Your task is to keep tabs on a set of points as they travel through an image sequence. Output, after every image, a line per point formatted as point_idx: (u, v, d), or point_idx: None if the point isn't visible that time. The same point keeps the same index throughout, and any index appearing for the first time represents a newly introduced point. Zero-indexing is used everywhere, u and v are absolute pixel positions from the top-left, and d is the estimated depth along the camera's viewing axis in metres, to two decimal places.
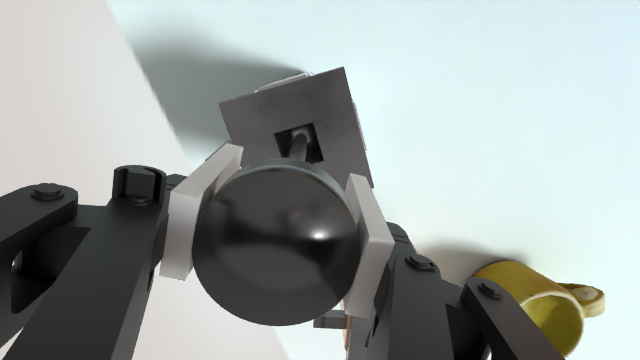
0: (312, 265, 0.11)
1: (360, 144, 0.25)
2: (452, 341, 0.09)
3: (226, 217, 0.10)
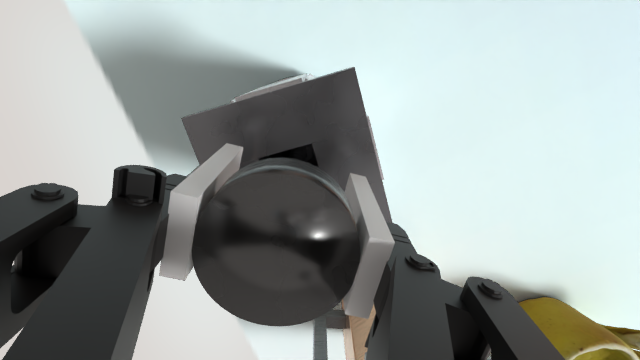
0: (312, 265, 0.11)
1: (376, 173, 0.18)
2: (452, 341, 0.09)
3: (226, 217, 0.10)
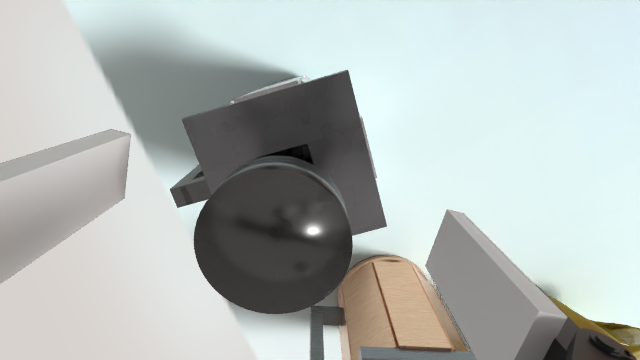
0: (307, 255, 0.12)
1: (369, 171, 0.19)
2: None
3: (226, 211, 0.11)
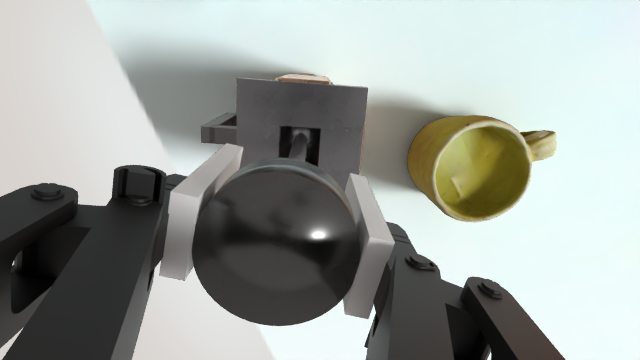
0: None
1: None
2: (452, 341, 0.09)
3: None
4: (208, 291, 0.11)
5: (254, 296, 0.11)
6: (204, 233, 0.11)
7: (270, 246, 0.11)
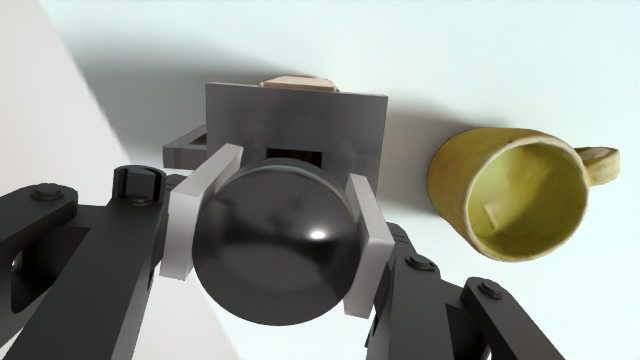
0: None
1: None
2: (452, 341, 0.09)
3: None
4: (208, 291, 0.11)
5: (254, 296, 0.11)
6: (204, 233, 0.11)
7: (270, 246, 0.11)
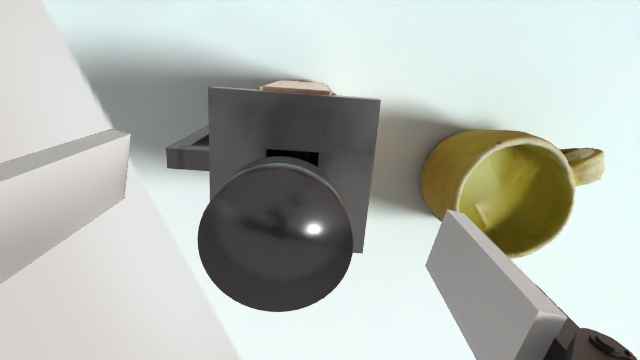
0: None
1: None
2: None
3: None
4: (213, 279, 0.12)
5: (255, 284, 0.12)
6: (209, 225, 0.12)
7: (270, 237, 0.12)
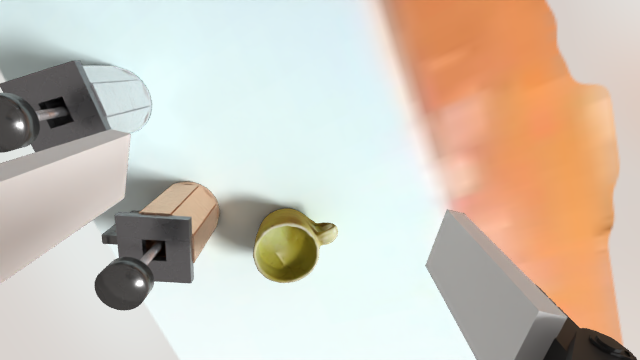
0: (6, 127, 0.31)
1: (95, 110, 0.39)
2: None
3: None
4: (101, 299, 0.37)
5: (115, 301, 0.37)
6: (98, 282, 0.36)
7: (117, 286, 0.36)
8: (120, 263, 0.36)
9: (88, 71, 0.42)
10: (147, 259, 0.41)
